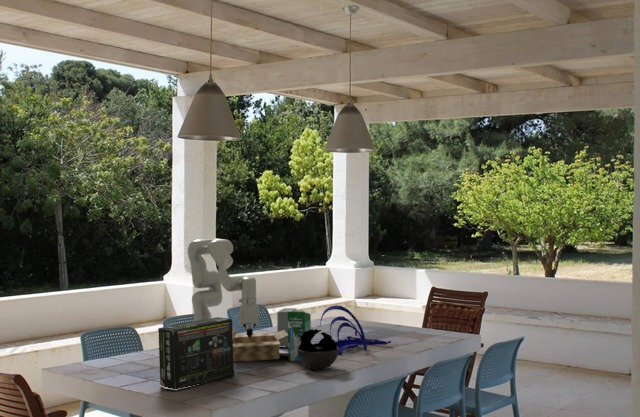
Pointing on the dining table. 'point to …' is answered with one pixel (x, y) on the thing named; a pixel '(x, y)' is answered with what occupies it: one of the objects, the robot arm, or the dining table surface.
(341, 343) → the sculpture
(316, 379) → the dining table surface
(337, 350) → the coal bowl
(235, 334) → the left flap
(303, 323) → the milk carton
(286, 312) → the hard drive box
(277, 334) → the right flap
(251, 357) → the carton
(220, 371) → the router box
